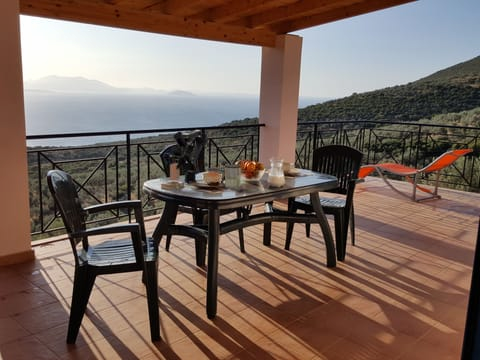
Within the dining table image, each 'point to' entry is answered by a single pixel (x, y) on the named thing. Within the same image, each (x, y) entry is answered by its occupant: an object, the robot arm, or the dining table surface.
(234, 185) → the coffee can
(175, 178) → the pink tall block
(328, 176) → the dining table surface
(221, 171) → the food container
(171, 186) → the rack
